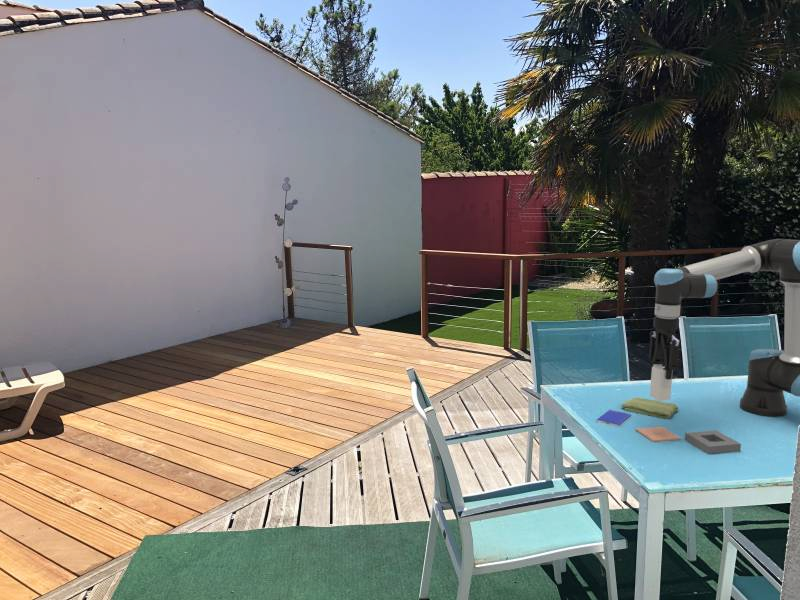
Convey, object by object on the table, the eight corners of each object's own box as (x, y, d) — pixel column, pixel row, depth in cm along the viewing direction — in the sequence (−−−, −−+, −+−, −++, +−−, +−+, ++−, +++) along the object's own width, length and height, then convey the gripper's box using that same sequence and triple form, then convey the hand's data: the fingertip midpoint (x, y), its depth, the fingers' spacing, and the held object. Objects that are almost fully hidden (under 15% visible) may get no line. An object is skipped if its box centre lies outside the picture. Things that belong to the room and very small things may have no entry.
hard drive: (609, 409, 222) (596, 418, 212) (631, 414, 217) (619, 424, 207) (609, 413, 222) (595, 423, 213) (631, 418, 217) (618, 428, 208)
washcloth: (631, 401, 234) (631, 393, 234) (679, 411, 223) (679, 403, 223) (619, 410, 224) (620, 402, 224) (669, 421, 213) (669, 413, 213)
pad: (661, 428, 206) (662, 426, 206) (680, 439, 196) (680, 438, 196) (635, 430, 204) (635, 428, 204) (653, 442, 195) (653, 440, 195)
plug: (661, 395, 201) (664, 366, 199) (670, 399, 196) (672, 370, 195) (649, 395, 200) (651, 367, 198) (657, 400, 195) (660, 370, 194)
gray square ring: (715, 437, 198) (715, 430, 198) (740, 451, 188) (741, 443, 187) (684, 439, 196) (685, 432, 196) (708, 454, 185) (709, 446, 185)
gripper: (640, 311, 201) (635, 378, 205) (673, 322, 184) (667, 394, 188) (660, 311, 202) (655, 377, 207) (694, 321, 186) (688, 393, 190)
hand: (660, 385), depth 197 cm, fingers closed on plug, 4 cm apart
